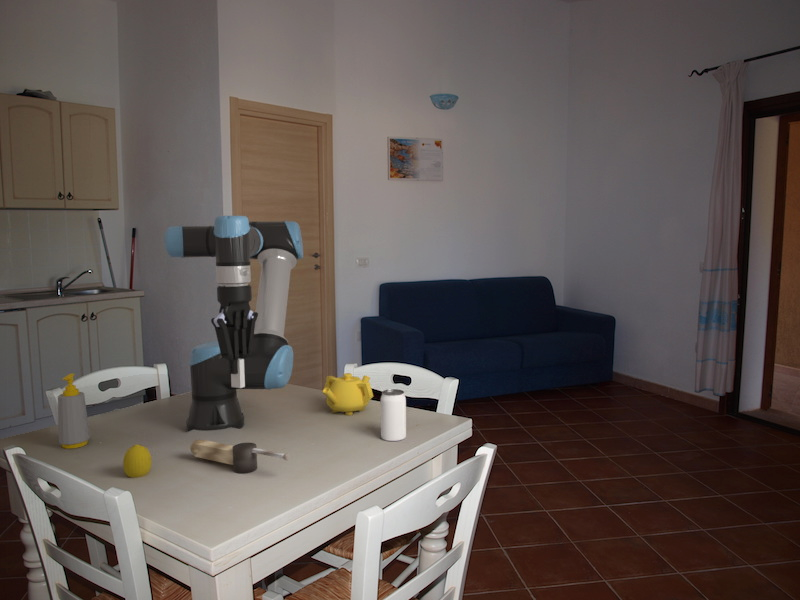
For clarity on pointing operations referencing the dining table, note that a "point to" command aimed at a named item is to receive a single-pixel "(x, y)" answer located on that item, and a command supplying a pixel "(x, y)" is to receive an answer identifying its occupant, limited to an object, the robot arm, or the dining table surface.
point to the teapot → (347, 393)
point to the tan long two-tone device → (233, 454)
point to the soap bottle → (72, 417)
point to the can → (393, 415)
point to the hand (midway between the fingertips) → (238, 386)
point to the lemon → (137, 461)
